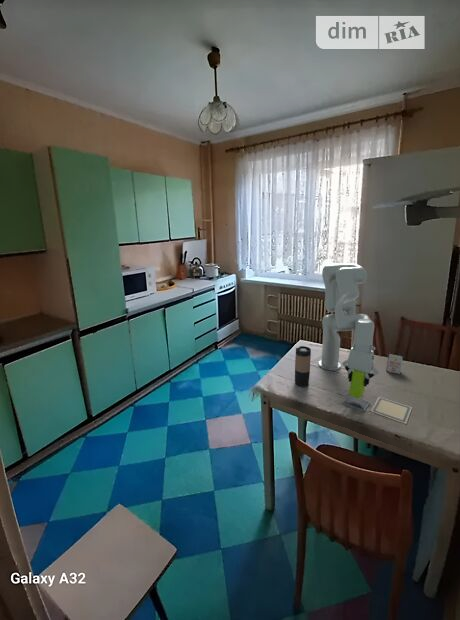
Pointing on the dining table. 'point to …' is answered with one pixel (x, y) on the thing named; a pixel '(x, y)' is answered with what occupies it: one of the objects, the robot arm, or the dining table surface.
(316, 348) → the dining table surface
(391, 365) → the white patterned box
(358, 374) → the soap dispenser
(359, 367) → the robot arm
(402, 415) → the card sheet
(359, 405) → the ink pad
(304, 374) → the travel mug
